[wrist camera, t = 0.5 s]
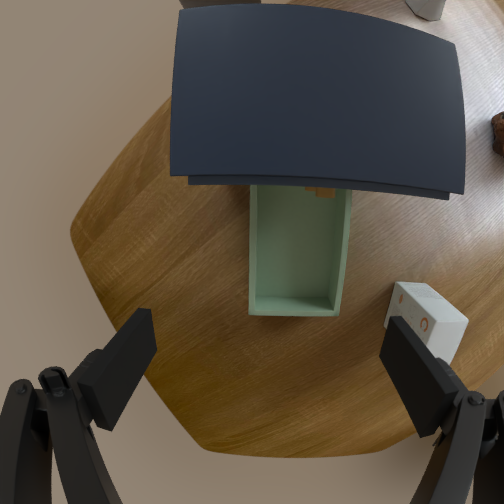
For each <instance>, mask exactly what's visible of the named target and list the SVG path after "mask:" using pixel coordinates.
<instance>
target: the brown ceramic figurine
mask: <svg viewBox="0 0 504 504" xmlns="http://www.w3.org/2000/svg"><path fill="white" fill-rule="evenodd" d="M491 121H492V124H493V126H494V134H495V140H494V143H493V146H492V147H493V150H494V151H495V152H496V153H497V154H499V155H500V156H502V157H503V158H504V111H503V112H501V113H499V114H497V115H495V116H494V117H493V118H492V120H491Z"/></svg>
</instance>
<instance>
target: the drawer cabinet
mask: <svg viewBox="0 0 504 504" xmlns="http://www.w3.org/2000/svg"><path fill="white" fill-rule="evenodd" d="M465 163H466V136H465V114H464V101H463V92H462V83H461V76H460V69H459V63H458V58H457V52H456V47H455V44H453V43H451V42H449V41H446V40H444V39H441V38H439V37H436V36H434V35H431V34H428V33H426V32H423V31H420V30H417V29H414V28H411V27H408V26H405V25H402V24H398V23H395V22H391V21H388V20H384V19H380V18H376V17H372V16H367V15H363V14H358V13H353V12H347V11H342V10H335V9H329V8H321V7H312V6H302V5H288V4H229V5H216V6H205V7H197V8H189V9H182V10H180V11H179V19H178V28H177V36H176V46H175V57H174V68H173V82H172V100H171V126H170V176H188V185H276V186H302V187H305V190H306V191H316V192H315V196H316V197H321V198H335V188H336V189H350V190H362V191H373V192H384V193H393V194H402V195H411V196H419V197H427V198H434V199H441V200H449V195H450V193H455V194H461V195H463V194H464V185H465Z"/></svg>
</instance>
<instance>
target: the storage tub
mask: <svg viewBox="0 0 504 504" xmlns="http://www.w3.org/2000/svg"><path fill="white" fill-rule="evenodd" d="M315 192H316V191H306V190H305V187H302V186H276V185H250V232H249V315H266V316H339V310H340V303H341V296H342V290H343V282H344V275H345V267H346V258H347V249H348V239H349V228H350V216H351V203H352V190H350V189H336V188H335V198H321V197H316V196H315Z"/></svg>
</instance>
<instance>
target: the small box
mask: <svg viewBox="0 0 504 504" xmlns="http://www.w3.org/2000/svg"><path fill="white" fill-rule="evenodd" d="M390 316H402V317H403V318H404V320H405V321H406V322H407V323H408V324H409V326H410V327H411V328H412V329H413V330H414V332H415V333H416V334H417V335H418V337H419V338H420V339H421V340H422V342H423V343H424V344H425V345H426V347H427V348H428V349H429V350H430V352H431V353H432V354H433V355H434V357H435V358H438V357H440V358H441V359H443V360H444V361H446V362H447V363H448V365H449V366H450V363H451V361H452V359H453V357H454V355H455V353H456V350H457V348H458V346H459V344H460V341H461V339H462V337H463V334H464V332H465V329H466V327H467V324H468V321H469V320H468V319H467V318H466V317H465V316H464V315H463V314H462V313H461V312H459V311H458V310H457V309H456V308H455V307H454V306H453V305H451V304H450V303H449V302H448V301H447V300H446V299H444V298H443V297H442V296H441V295H440V294H438V293H437V292H436V291H435V290H434V289H432V288H431V287H430V286H429V285H427V284H426V283H412V282H397V281H396V282H395V285H394V289H393V293H392V297H391V301H390V304H389V308H388V311H387V315H386V318H385V322H384V327H385V328H386V329H387V326H388V321H389V317H390Z"/></svg>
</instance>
